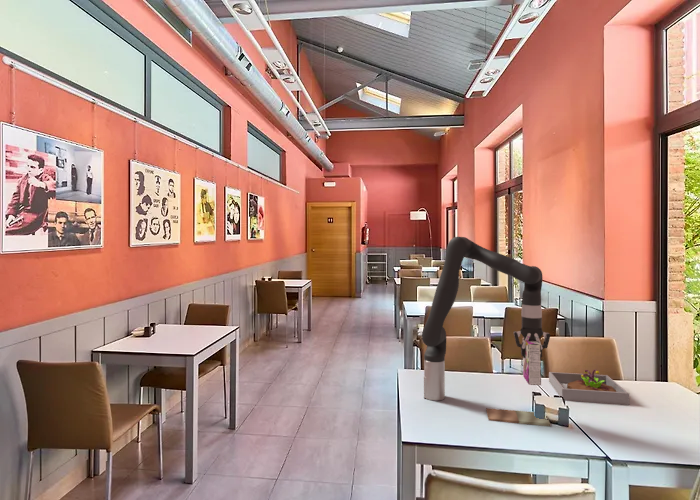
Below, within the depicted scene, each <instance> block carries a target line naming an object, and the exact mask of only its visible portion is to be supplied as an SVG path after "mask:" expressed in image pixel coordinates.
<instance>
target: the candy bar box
mask: <svg viewBox="0 0 700 500" xmlns="http://www.w3.org/2000/svg"><path fill="white" fill-rule="evenodd" d="M526 341H527V340H526ZM541 345H542V343H541V344H540V343H539V342H537V341H528V342H526V346H525V358H523V357H522V363H523V364H522V377H523V378H524V380H525V381H526V383H527V384H528V385H530V386H542V357H541Z"/></svg>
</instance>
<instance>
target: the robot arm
mask: <svg viewBox="0 0 700 500" xmlns="http://www.w3.org/2000/svg"><path fill="white" fill-rule="evenodd" d="M445 253H446V254H445V258H444V264H443V266H442V269H441V273H440V275H439V280H438V281H437V284H436V285H437V286H436V289H435V292H434V297H433V301H432V303H431V307H430V311H429V314H428V317H427V320H426V321H425V325H424V327H423V330H422V331H421V341H422V343H424V345H425V346H426V350H425V351H424V354H423V359H424V360H423V370H424V371H423V373H424V374H423V375H424V376H423V399H424V398H426V399H427V400H429V401H442V400H444V399H446V398H445V397H446V388H445V387H446V380H445V379H446V377H445V376H446V375H445V374H446V372H445V371H446V369H445V368H446V367H445V366H446V365H445V363H446V362H445V361H446V359H445V357H446V354H447V332H446V329H445V327H444V323H445V321H446V319H447V316H448V315H449V313H450V311H451V310H452V307H453V306H454V303H455V302H456V301H455V300H456V298H457V295H458V291H459V288H460V287H459V286H460V269H461V266H462V263H463V261H464V258H467V259H471V260H475V261H478V262H480V263H482V264H484V265H485V266H487V267H490V268H491V269H493V270H495V271H497V272H500V273H502V274H505V275H507V276H511V277H512V278H514V279H516V280H517V281H520V282H522V283H524V285H523V286H524V289H523V291H522V296H521V297H522V298H521V299H522V301H521V302H522V303H521V304H522V305H521V312H520V313H521V329H520V330H518V331H516V330H515V331H513V336H514V340H515V344H516V346H517V347H518V348H520V354H521V357H522V359H523V358H525V346H526V342H528V341H537V342H539V343H540V344H541V358H542V357H543V350H544V349H548V346H549V342H550V338H551V334H550V333H549V332H545V331H543V328H542V327H543V312H542V311H543V309H542V287H543V272H542V270H541V268H539V267H538V266H534V265H531V266H530V265H527V264H524V263H522V262H519V260H516V259H515V258H512V257H509V256H506V255H504V254H503V253H502V254H501V253H500V252H499V253H498V252H496V251H494V250H490V249H488V248H485V247H483V246H482V245H479V244H477V243H476V242H474V241H472V240H470V239H469V238H468V237H465V236H454V237H452V238H451V239H450V240H449V241H448V244H447V247H446V252H445ZM521 336H522V342H521V343H520V338H519V337H521ZM542 336H543V338H544V340H543V344H542V343H541V340H540V339H541V338H542ZM526 340H527V341H526Z"/></svg>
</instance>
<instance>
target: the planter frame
mask: <svg viewBox="0 0 700 500" xmlns="http://www.w3.org/2000/svg"><path fill="white" fill-rule="evenodd" d="M582 374H583V373H576V372H575V373H574V372H573V373H572V372H571V373H570V372H557V371H556V372H555V371H549V372H548V382H549V384H550V385H551V387H552V388H553V389H554V391H555V392H556V394H557V395H558V396H559V397H560V396H562V397H564V399H565V400H564V401H571V402H584V403H585V402H586V403H596V404H597V403H598V404H601V403H602V404H610V405H611V404H613V405H624V406H626V405H627V406H629V405H630V393H629V392H628V391H627V390H625V388H624V387H623V386H621V385H620V384H618V383H617V382H616V381H615V380H614V379H612V378H611V377H610V376H609V375H608V374H594V377H595V378H598V382H599V381H602V380H605V381H604V382H602V384H606V385H608V386H612V387H613V388H614V389H615V390H616V392H609V391H594V390H579V389H567V388H565V387H563V385H562V384H568V383H570V382H574V381H577V380H583V378H581V377H582V376H581V375H582ZM587 374H588V375H589V373H587ZM591 375H592V373H591ZM589 376H590V375H589ZM586 377H588V376H587V375H585V376H584V378H586ZM586 379H587V378H586ZM583 381H584V380H583Z"/></svg>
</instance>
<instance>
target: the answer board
mask: <svg viewBox="0 0 700 500" xmlns="http://www.w3.org/2000/svg"><path fill="white" fill-rule="evenodd" d="M485 410H486V414H487V420H488V421H491V422H500V423H501V422H502V423H512V424H519V425H520V424H521V425H532V426H542V427H543V426H544V427H551V422H550V420H549V419H548V420H545V419H539V418H536V417H535V416H534V412H535V411H527V410H526V411H525V410H513V409H501V408H500V409H499V408H486V409H485Z"/></svg>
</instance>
